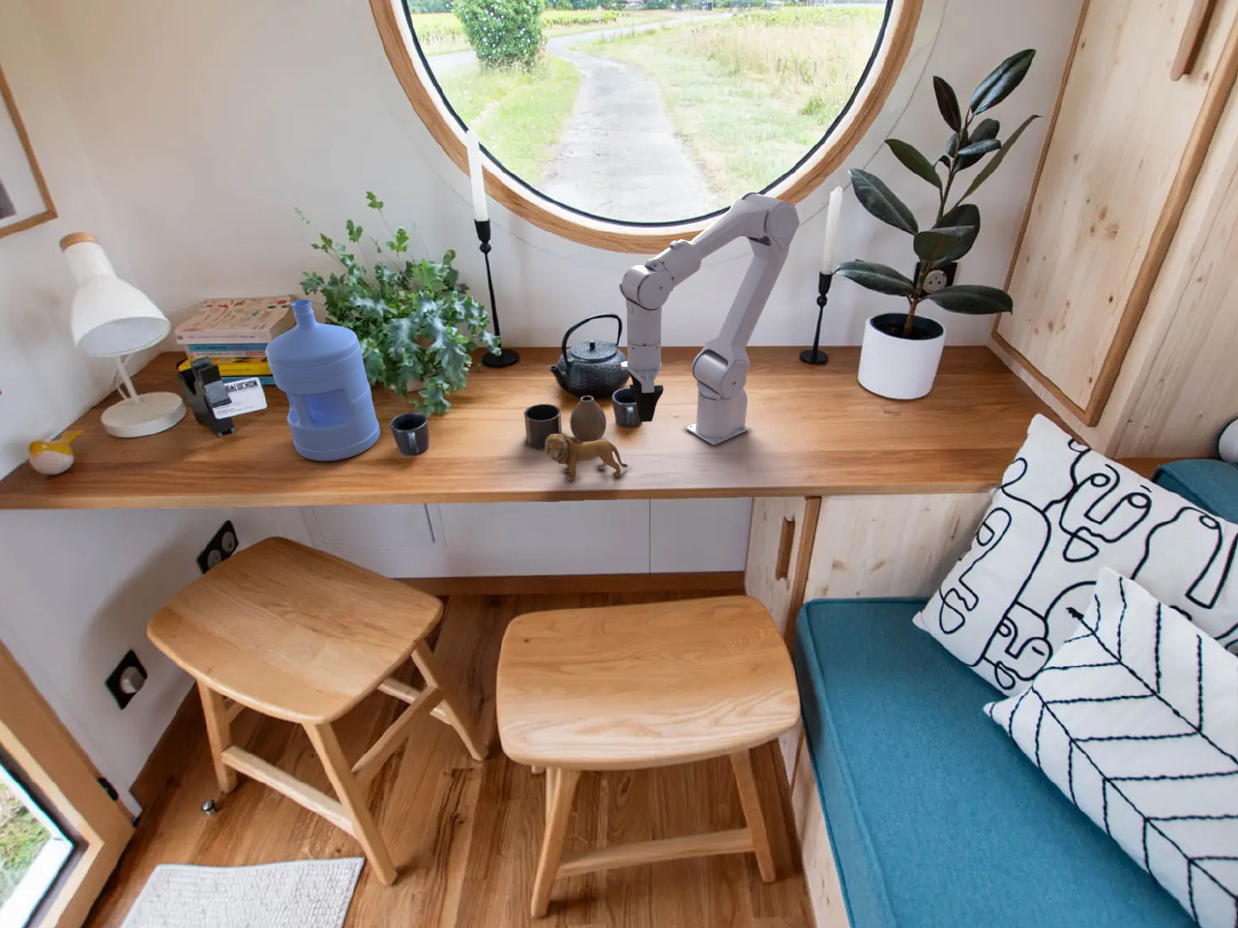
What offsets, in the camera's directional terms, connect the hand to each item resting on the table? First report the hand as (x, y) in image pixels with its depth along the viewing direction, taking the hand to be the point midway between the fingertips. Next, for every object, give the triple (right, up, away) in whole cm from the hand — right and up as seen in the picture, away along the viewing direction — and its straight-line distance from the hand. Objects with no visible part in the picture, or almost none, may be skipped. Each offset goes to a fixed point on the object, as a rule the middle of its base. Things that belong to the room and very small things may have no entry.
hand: (643, 410), depth 123 cm
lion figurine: (-10, -12, 0) cm, 16 cm away
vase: (-10, -5, +10) cm, 15 cm away
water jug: (-59, -5, +10) cm, 60 cm away
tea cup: (-19, -5, +10) cm, 22 cm away
